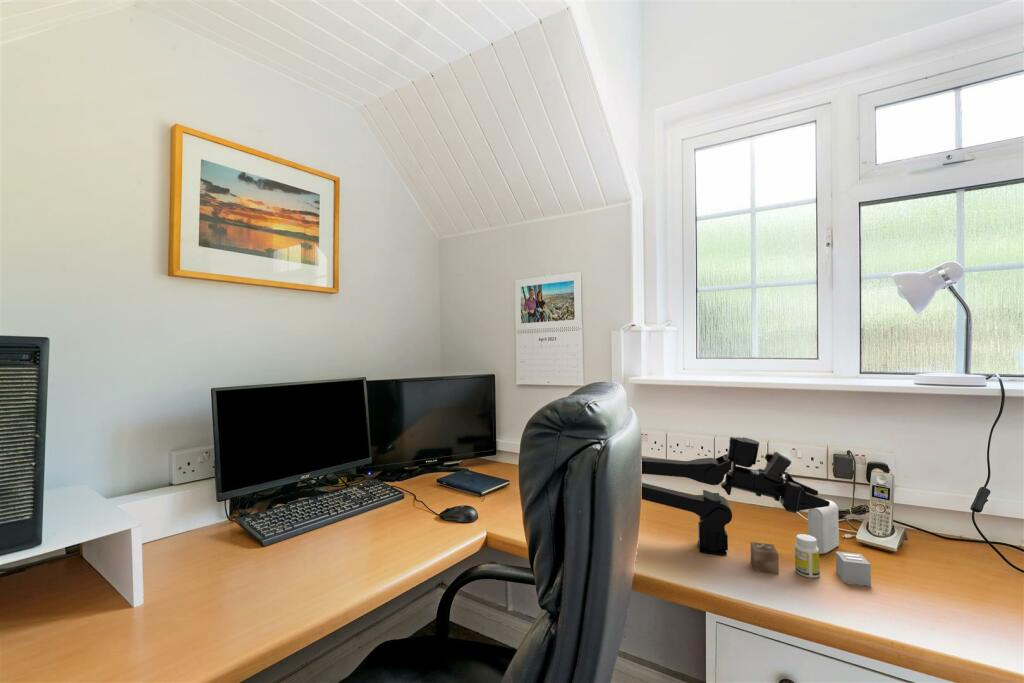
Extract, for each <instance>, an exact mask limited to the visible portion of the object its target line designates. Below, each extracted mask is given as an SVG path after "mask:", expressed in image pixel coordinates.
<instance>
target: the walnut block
mask: <svg viewBox="0 0 1024 683" xmlns="http://www.w3.org/2000/svg"><path fill="white" fill-rule="evenodd" d="M749 545H750V563H751V565H752V569H753V571H754V572H757V573H763V574H771V575H779V574H780V572H779V571H780V568H779V566H780V565H779V552H778V550H777V548H776V547H775V545H774V544H771V543H765V542H764V543H763V542H755V541H750V544H749Z"/></svg>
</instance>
